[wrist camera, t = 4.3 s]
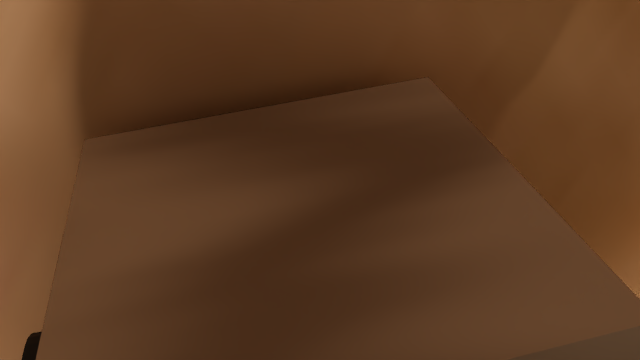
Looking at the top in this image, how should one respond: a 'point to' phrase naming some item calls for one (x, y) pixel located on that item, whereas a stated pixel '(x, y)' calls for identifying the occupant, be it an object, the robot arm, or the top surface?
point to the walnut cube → (325, 243)
